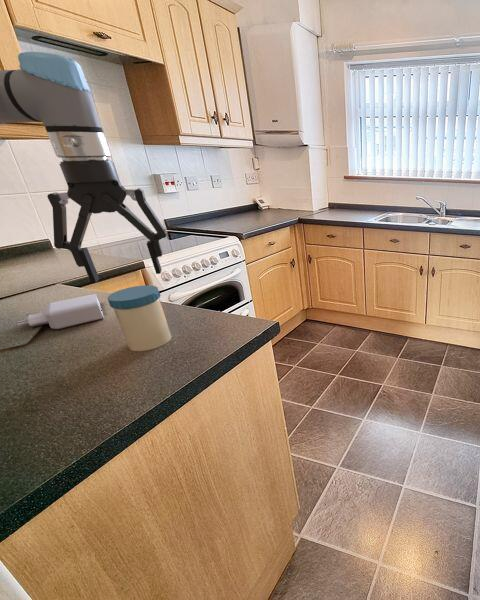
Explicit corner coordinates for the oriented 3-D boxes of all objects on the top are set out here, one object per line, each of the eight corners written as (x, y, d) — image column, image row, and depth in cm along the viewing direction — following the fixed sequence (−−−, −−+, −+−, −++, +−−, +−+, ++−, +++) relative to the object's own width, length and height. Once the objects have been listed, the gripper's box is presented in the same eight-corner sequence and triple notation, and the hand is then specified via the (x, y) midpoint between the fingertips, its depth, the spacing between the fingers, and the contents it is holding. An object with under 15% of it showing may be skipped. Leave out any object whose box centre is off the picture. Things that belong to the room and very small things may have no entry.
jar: (126, 355, 71) (106, 305, 66) (131, 338, 77) (114, 292, 72) (170, 345, 74) (155, 297, 70) (172, 330, 81) (158, 285, 76)
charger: (23, 326, 83) (101, 308, 92) (20, 340, 77) (104, 319, 86) (14, 308, 81) (95, 292, 90) (10, 321, 75) (97, 302, 84)
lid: (105, 312, 66) (102, 304, 65) (115, 297, 73) (112, 289, 72) (158, 303, 70) (155, 295, 69) (162, 290, 77) (160, 282, 76)
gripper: (-14, 161, 52) (49, 293, 61) (158, 158, 62) (190, 272, 71) (8, 160, 58) (62, 280, 67) (162, 158, 68) (191, 263, 77)
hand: (128, 276), depth 69 cm, fingers open, 10 cm apart
